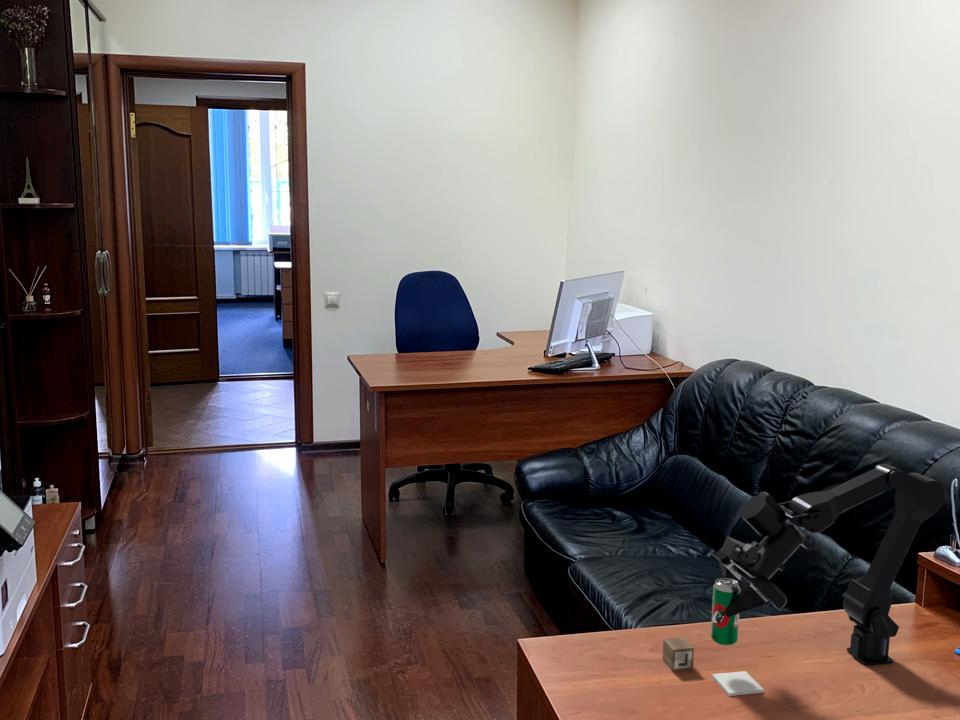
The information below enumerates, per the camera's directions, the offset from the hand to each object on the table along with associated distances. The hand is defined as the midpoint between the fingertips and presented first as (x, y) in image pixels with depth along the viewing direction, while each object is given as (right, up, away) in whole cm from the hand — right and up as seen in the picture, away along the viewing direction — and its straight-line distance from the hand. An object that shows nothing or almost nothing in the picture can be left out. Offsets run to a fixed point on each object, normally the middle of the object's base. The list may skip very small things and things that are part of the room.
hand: (719, 609), depth 170 cm
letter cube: (-7, -13, +5) cm, 15 cm away
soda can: (+1, -7, +1) cm, 7 cm away
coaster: (+3, -14, -2) cm, 14 cm away
